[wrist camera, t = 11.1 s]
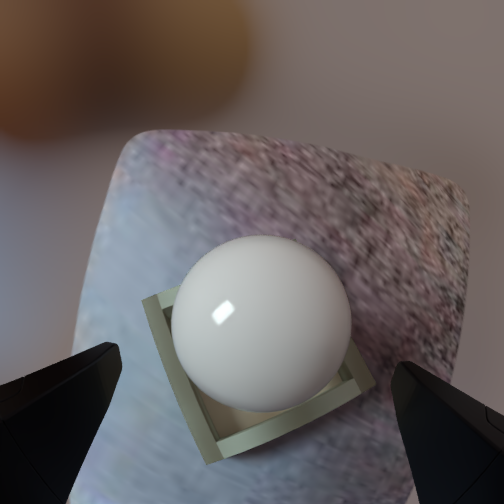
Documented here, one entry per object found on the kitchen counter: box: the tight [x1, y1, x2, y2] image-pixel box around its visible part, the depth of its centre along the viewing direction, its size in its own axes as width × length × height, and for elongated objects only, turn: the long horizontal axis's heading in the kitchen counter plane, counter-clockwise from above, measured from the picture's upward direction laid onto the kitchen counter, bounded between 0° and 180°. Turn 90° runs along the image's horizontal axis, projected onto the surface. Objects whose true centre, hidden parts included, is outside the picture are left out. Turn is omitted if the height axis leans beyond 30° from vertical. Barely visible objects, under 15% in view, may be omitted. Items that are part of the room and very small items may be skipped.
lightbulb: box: [171, 235, 352, 413], centre depth 13 cm, size 6×6×11 cm
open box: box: [142, 239, 376, 465], centre depth 17 cm, size 10×10×3 cm
